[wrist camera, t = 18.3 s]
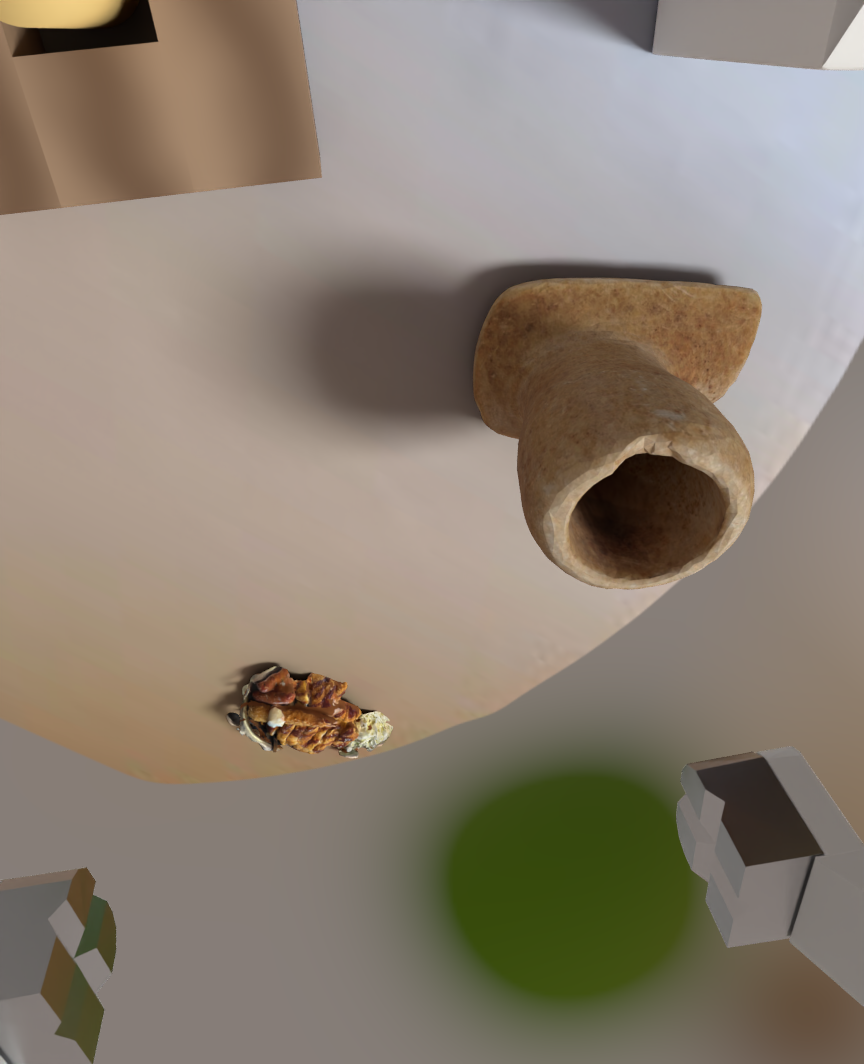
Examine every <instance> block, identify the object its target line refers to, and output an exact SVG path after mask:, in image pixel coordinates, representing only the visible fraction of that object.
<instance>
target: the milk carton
mask: <svg viewBox="0 0 864 1064" xmlns="http://www.w3.org/2000/svg"><path fill="white" fill-rule="evenodd" d="M652 52H653V54H654V55H663V56H674V57H684V58H695V59H706V60H717V61H728V62H739V63H750V64H761V65H772V66H783V67H793V68H805V69H817V70H864V0H659V2H658V10H657V18H656V26H655V34H654V43H653V51H652Z"/></svg>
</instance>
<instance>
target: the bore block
mask: <svg viewBox="0 0 864 1064" xmlns="http://www.w3.org/2000/svg"><path fill="white" fill-rule="evenodd" d="M313 178H322V174H321V162H320V153H319V147H318V140H317V134H316V127H315V120H314V114H313V107H312V100H311V94H310V87H309V81H308V74H307V67H306V61H305V54H304V48H303V41H302V34H301V28H300V21H299V15H298V8H297V1H296V0H139V2H138V5H137V7H136V9H135V10H134V12H133V13H132V15H131V16H130V17H129V18H128V19H127V20H126V21H124V22H123V23H121V24H120V25H118V26H115V27H112V28H107V29H71V28H25V27H17V26H13V25H9V24H7V23H4V22H1V21H0V215H4V214H13V213H21V212H30V211H38V210H47V209H56V208H64V207H73V206H81V205H90V204H99V203H107V202H116V201H124V200H133V199H141V198H150V197H159V196H167V195H176V194H184V193H193V192H201V191H210V190H219V189H227V188H236V187H244V186H253V185H262V184H270V183H279V182H287V181H296V180H304V179H313Z"/></svg>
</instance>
